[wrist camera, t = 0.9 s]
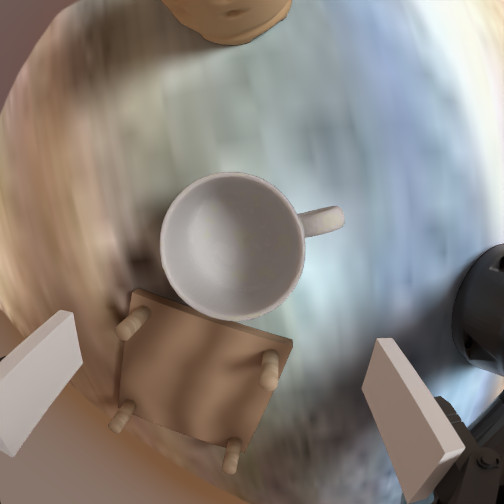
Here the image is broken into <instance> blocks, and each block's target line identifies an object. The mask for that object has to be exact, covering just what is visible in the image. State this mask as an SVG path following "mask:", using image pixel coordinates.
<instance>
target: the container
mask: <svg viewBox="0 0 504 504" xmlns="http://www.w3.org/2000/svg"><path fill="white" fill-rule="evenodd" d="M161 1H162V2H163V3H164V4H165V5H166V6H167V7H168V9H169V10H170V11H171V12H172V13H173V15H174V16H175V17H176V19H177V20H178V21H179V22H180V23H182V24H183V25H185V26H187V27H189V28H191V29H193V30H194V31H196V32H199V33H200V34H201V35H202V36H203V38H204V39H206V40H208V41H210V42H214V43H218V44H222V45H226V44H228V45H241V44H245V43H249V42H251V40H252V39H254V38H255V37H257V36H259V35H260V34H262V33H264V32H265V31H267V30H268V29H270V28H272V27H273V26H274V25H276V24H277V23H278V22H279V21H280V20H284V19H285V18H286V16H287V14H288V12H289V10H290V7H291V3H292V0H161Z"/></svg>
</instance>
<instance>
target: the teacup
mask: <svg viewBox="0 0 504 504" xmlns="http://www.w3.org/2000/svg"><path fill="white" fill-rule="evenodd" d="M344 223H345V217H344V214H343V211H342V209H341V208H340V207H339V206H331V207H326V208H321V209H317V210H313V211H309V212H305V213H300V214H297V213H296V212H295V210H294V208H293V206H292V205H291V203H290V202H289V201H288V199H287V198H286V197H285V196H284V195H283V194H282V193H281V192H280V191H279V190H278V189H277V188H276V187H275V186H273V185H272V184H270V183H269V182H267V181H265V180H264V179H261V178H259V177H256V176H253V175H250V174H246V173H241V172H222V173H215V174H211V175H208V176H205V177H203V178H200V179H199V180H197V181H195V182H193V183H192V184H190V185H189V186H187V187H186V188H185V189H184V190H183V191H182V192H181V193H180V194H179V195H178V196H177V197H176V198H175V199H174V201H173V202H172V204H171V205H170V207H169V209H168V210H167V213H166V215H165V217H164V220H163V223H162V227H161V233H160V256H161V263H162V267H163V269H164V272H165V274H166V277H167V279H168V281H169V283H170V284H171V286H172V287H173V289H174V290H175V292H176V293H177V294H178V296H179V297H180V298H181V299H182V300H183V301H185V302H186V303H187V304H188V305H189V306H191V307H192V308H193V309H195V310H197V311H199V312H200V313H202V314H205V315H207V316H209V317H212V318H216V319H220V320H226V321H244V320H251V319H254V318H257V317H260V316H261V315H264V314H266V313H268V312H271V311H272V310H273V309H275V308H277V307H278V306H279V305H281V304H282V303H283V302H284V301H285V300H286V299H287V297H288V296H289V295H290V293H291V292H292V291H293V290H294V288H295V287H296V285H297V283H298V281H299V279H300V276H301V274H302V271H303V267H304V261H305V237H312V236H316V235H321V234H324V233H328V232H332V231H334V230H337V229H339V228H341V227H342V226H343V225H344Z"/></svg>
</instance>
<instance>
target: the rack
mask: <svg viewBox="0 0 504 504" xmlns="http://www.w3.org/2000/svg"><path fill="white" fill-rule="evenodd" d="M115 333H116V335H117V337H118V338H119V339H121V340H123V341H125V344H124V352H123V360H122V370H121V380H120V391H119V403H118V408H120V409H119V410H118V412H117V413H116V415H115V416H114V418H113V419H112V420H111V422H110V423H109V425H108V427H109V429H110V430H111V431H112V432H114V433H120V432H121V431H122V429H123V427H124V426H125V424H126V423H127V421H128V420H129V418H130V417H131V415H132V414H133V415H136V416H138V417H140V418H143V419H145V420H148V421H150V422H153V423H155V424H158V425H160V426H163V427H165V428H168V429H171V430H173V431H176V432H179V433H182V434H184V435H187V436H190V437H193V438H196V439H199V440H202V441H205V442H209V443H212V444H215V445H219V446H222V447H225V448H227V449H226V453H225V457H224V461H223V466H222V471H223V472H224V473H226V474H234V473H236V469H237V464H238V458H239V453H240V452H245V450H246V448H247V446H248V444H249V442H250V440H251V438H252V436H253V434H254V432H255V430H256V428H257V426H258V424H259V422H260V419H261V417H262V415H263V413H264V411H265V409H266V407H267V404H268V402H269V400H270V398H271V396H272V393H273V391H274V390H275V389H276V388H277V385H278V380H279V378H280V375H281V373H282V371H283V368H284V366H285V364H286V361H287V359H288V357H289V354H290V352H291V350H292V347H293V342H292V340H291V339H288V338H285V337H281V336H278V335H274V334H271V333H268V332H265V331H261V330H258V329H255V328H252V327H248V326H245V325H242V324H239V323H236V322H233V321H226V320H220V319H216V318H212V317H209V316H207V315H205V314H202V313H200V312H199V311H197V310H195V309H193V308H191V307H188V306H186V305H183V304H180V303H177V302H174V301H172V300H169V299H166V298H163V297H161V296H158V295H155V294H153V293H150V292H147V291H145V290H142V289H140V288H137V289H136V290H135V291H133V292H132V296H131V302H130V308H129V315H128V317H127V318H125V319H124V320H123V321H122V322H121V323H120V324H119V325H117V326H116V328H115Z"/></svg>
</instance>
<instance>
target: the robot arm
mask: <svg viewBox="0 0 504 504" xmlns="http://www.w3.org/2000/svg"><path fill="white" fill-rule="evenodd" d="M452 334H453V339H454V342H455V345H456V347H457V349H458V350H459V352H460V353H461V354H462V355H463V356H464V357H465V358H466V359H467V360H468V361H469V362H470V363H471V364H472V365H474V366H476V367H478V368H481V369H483V370H486V371H489V372H492V373H495V374H498V375H501V376H504V244H501V245H498V246H496V247H494V248H492V249H490V250H489V251H487V252H486V253H485V254H484V255H482V256H481V257H480V258H479V259H478V260H477V262H476V263H475V264H474V265H473V266H472V268H471V269H470V271H469V272H468V274H467V275H466V277H465V279H464V281H463V283H462V285H461V287H460V289H459V292H458V294H457V297H456V301H455V304H454V309H453V315H452ZM82 364H83V361H82V357H81V352H80V347H79V343H78V337H77V332H76V327H75V321H74V315H73V312H68V311H63V310H59V311H58V312H57V313H55V314H54V315H53V316H52V317H51V318H49V319H48V320H47V321H46V322H45V323H44V324H42V325H41V326H40V327H39V328H38V329H36V330H35V331H34V332H33V333H32V334H31V335H30V336H28V337H27V338H26V339H25V340H24V341H23V342H22V343H20V344H19V345H18V346H17V347H16V348H15V349H14V350H13V351H11V352H10V353H9V354H8V355H7V356H4V357H2V358H0V451H2V452H4V453H6V454H8V455H9V456H11V457H14V456H15V454H16V453H17V451H18V450H19V449H20V447H21V446H22V444H23V443H24V441H25V440H26V439H27V437H28V436H29V434H30V433H31V432H32V430H33V429H34V427H35V426H36V424H37V423H38V422H39V420H40V419H41V418H42V416H43V415H44V414H45V412H46V411H47V409H48V408H49V407H50V405H51V404H52V403H53V401H54V400H55V399H56V397H57V396H58V394H59V393H60V392H61V391H62V390H63V388H64V387H65V386H66V384H67V383H68V382H69V380H70V379H71V378H72V377H73V375H74V374H75V373H76V371H77V370H78V369H79V368H80V366H81V365H82ZM361 389H362V391H363V393H364V396H365V398H366V401H367V403H368V405H369V408H370V410H371V412H372V415H373V417H374V420H375V422H376V425H377V427H378V429H379V432H380V434H381V437H382V439H383V442H384V444H385V447H386V449H387V452H388V454H389V457H390V459H391V462H392V465H393V467H394V470H395V472H396V475H397V478H398V480H399V483H400V485H401V488H402V491H403V493H402V497H401V504H504V390H503V391H502V392H501V393H500V395H499V396H497V398H496V399H495V400H494V401H493V402H492V403H491V404H490V405H489V406H488V407H487V408H486V409H485V410H484V411H483V412H482V413H481V415H480V416H479V417H478V418H477V419H476V420H474V421H473V422H472V423H471V424H470V425H469V426H468V427H466V426H465V424H464V423H463V422H461V418H460V417H459V415H458V414H456V411H455V410H454V408H453V407H452V405H451V404H450V403H449V402H448V401H446V400H445V399H444V398H442V397H441V396H438V397H433V396H432V394H431V393H430V391H429V390H428V388H427V387H426V385H425V384H424V382H423V381H422V380H421V378H420V377H419V375H418V374H417V372H416V371H415V369H414V368H413V366H412V365H411V364H410V362H409V361H408V359H407V358H406V357H405V355H404V354H403V352H402V351H401V349H400V348H399V347H398V345H397V344H396V342H395V341H394V340H393V338H376V342H375V345H374V349H373V353H372V356H371V359H370V363H369V366H368V370H367V373H366V376H365V379H364V382H363V385H362V388H361ZM0 504H1V503H0Z"/></svg>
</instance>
